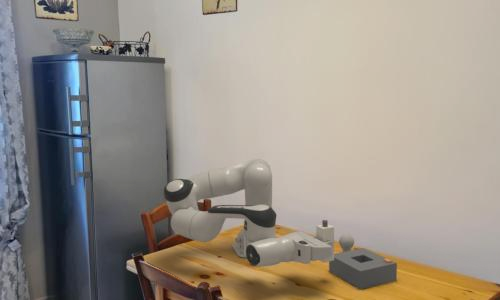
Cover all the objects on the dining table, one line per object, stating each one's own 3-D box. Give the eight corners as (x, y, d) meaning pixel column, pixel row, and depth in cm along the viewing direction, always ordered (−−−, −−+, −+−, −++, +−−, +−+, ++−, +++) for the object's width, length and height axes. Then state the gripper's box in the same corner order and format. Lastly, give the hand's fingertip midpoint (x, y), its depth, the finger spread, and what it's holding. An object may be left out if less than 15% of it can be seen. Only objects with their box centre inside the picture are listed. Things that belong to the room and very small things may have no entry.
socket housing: (329, 271, 174) (329, 253, 173) (363, 264, 180) (363, 246, 179) (360, 289, 157) (360, 269, 156) (396, 280, 164) (396, 261, 163)
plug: (316, 258, 165) (316, 220, 163) (327, 256, 167) (326, 218, 165) (323, 262, 161) (323, 223, 159) (334, 260, 163) (333, 221, 161)
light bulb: (354, 261, 183) (354, 236, 182) (338, 260, 184) (339, 236, 183) (353, 256, 189) (354, 232, 188) (339, 255, 190) (339, 231, 189)
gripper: (278, 247, 167) (311, 241, 173) (309, 265, 149) (344, 258, 155) (278, 230, 167) (311, 224, 172) (309, 246, 148) (344, 239, 154)
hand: (327, 240), depth 163 cm, fingers closed on plug, 4 cm apart
